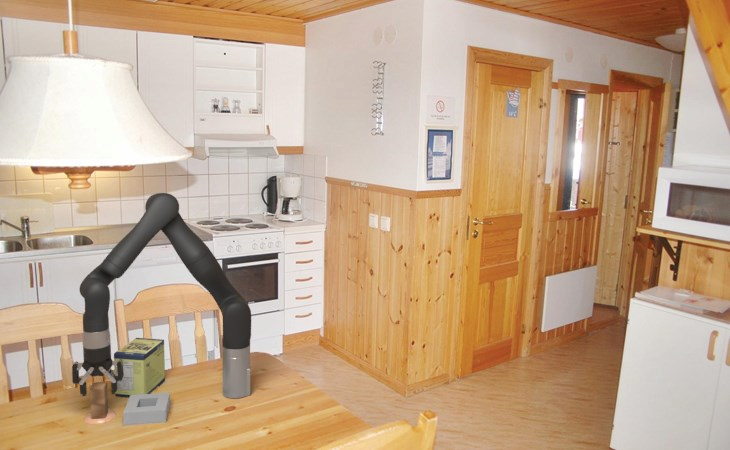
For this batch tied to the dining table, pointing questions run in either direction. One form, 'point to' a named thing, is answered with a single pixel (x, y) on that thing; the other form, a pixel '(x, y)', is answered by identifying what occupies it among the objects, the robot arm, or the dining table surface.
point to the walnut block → (99, 400)
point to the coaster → (109, 417)
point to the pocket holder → (146, 409)
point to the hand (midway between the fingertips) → (99, 394)
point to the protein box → (141, 367)
